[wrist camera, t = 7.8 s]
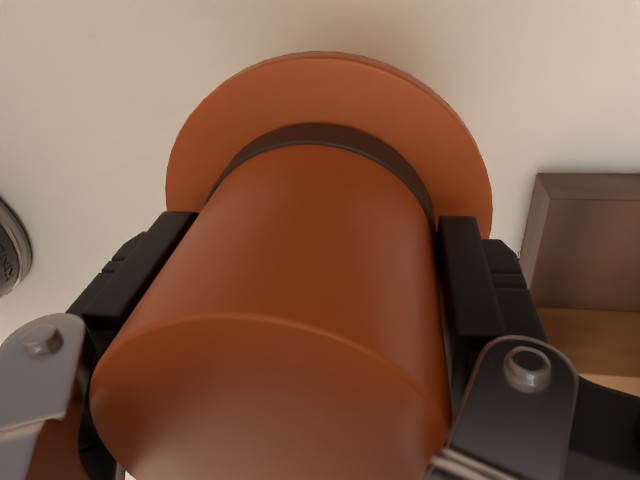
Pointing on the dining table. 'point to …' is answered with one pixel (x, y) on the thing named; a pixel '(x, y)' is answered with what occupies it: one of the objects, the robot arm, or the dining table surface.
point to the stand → (588, 272)
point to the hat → (297, 283)
